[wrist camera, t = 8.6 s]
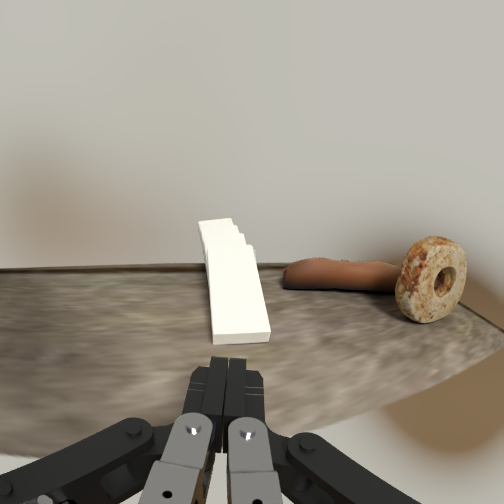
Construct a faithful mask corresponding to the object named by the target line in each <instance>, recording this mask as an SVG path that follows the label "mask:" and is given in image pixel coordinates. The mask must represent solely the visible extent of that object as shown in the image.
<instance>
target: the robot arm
mask: <svg viewBox="0 0 504 504" xmlns="http://www.w3.org/2000/svg"><path fill="white" fill-rule="evenodd" d="M222 438H223V453H227V498H228V504H283V502H282V495H281V492H282V493H283V494H284V495H285V496H286V497H287V498H288V499H289V500H291V501H292V502H293V503H294V504H421V503H419V502H418V501H416V500H414V499H412V498H411V497H409V496H407V495H406V494H404V493H403V492H401V491H399V490H398V489H396V488H394V487H393V486H391V485H390V484H388V483H386V482H385V481H383V480H382V479H380V478H379V477H377V476H376V475H374V474H373V473H371V472H370V471H368V470H367V469H365V468H364V467H362V466H361V465H359V464H358V463H356V462H355V461H354V460H352V459H351V458H349V457H348V456H346V455H345V454H343V453H342V452H341V451H339V450H337V448H335V447H334V446H332V445H331V444H330V443H328V442H327V441H326V440H324V439H323V438H322V437H320V436H318V435H316V434H313V433H308V432H304V433H299V434H296V435H294V436H293V437H291V438H288V437H284V436H281V435H278V434H276V433H274V432H272V431H271V430H270V429H269V428H268V427H267V425H266V423H265V412H264V389H263V378H262V376H261V375H260V373H259V372H258V371H252V370H246V359H242V358H230V360H229V369H228V358H227V357H215V356H212V357H211V362H210V367H200V366H199V367H198V368H197V369H196V370H195V371H194V372H193V373H192V375H191V379H190V383H189V387H188V391H187V395H186V399H185V403H184V407H183V412H182V415H181V416H179V417H178V418H177V419H176V420H175V422H174V423H173V424H170V425H167V426H159V427H151V425H150V424H149V423H148V422H147V421H145V420H143V419H141V418H127V419H124V420H122V421H120V422H118V423H116V424H114V425H112V426H110V427H108V428H106V429H104V430H102V431H100V432H98V433H96V434H94V435H92V436H90V437H88V438H86V439H83V440H81V441H79V442H77V443H75V444H73V445H71V446H68V447H66V448H64V449H62V450H60V451H57V452H55V453H53V454H51V455H48V456H46V457H44V458H41V459H39V460H37V461H34V462H32V463H29V464H27V465H25V466H22V467H20V468H17V469H15V470H12V471H10V472H7V473H5V474H2V475H0V504H119V503H121V502H123V501H125V500H126V499H128V498H130V497H131V496H133V495H135V494H136V493H138V492H140V491H141V490H143V492H142V495H141V497H140V500H139V503H138V504H205V503H206V498H207V494H208V489H209V484H210V480H211V474H212V471H213V464H214V461H215V453H221V448H222Z"/></svg>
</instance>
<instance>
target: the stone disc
mask: <svg viewBox="0 0 504 504" xmlns="http://www.w3.org/2000/svg"><path fill="white" fill-rule="evenodd" d="M466 262H467V261H466V260H465V252H464V250H463V249H462V248H461V247H460V246H459V245H458V244H457V243H455V242H453V241H451V240H449V239H446V238H443V237H438V236H430V237H427V238H424V239H422V240H420V241H418V242H416V243H415V244H414V245H413V246H412V247H411V248H410V250H409V252H408V253H407V255H406V257H405V259H404V262H403V264H402V267H401V269H400V276H399V277H398V281H397V284H396V288H395V297H396V301H397V305H398V307H399V309H400V311H401V312H402V313H403V314H404V315H405V316H407V317H408V318H410V319H411V320H413V321H416V322H419V323H430V322H434V321H437V320H439V319H441V318H443V317H445V316H447V315H448V314H449V313H450V312H451V311H452V310H453V309H454V308H455V306H456V304H457V302H458V301H459V299H460V297H461V295H462V292H463V289H464V285H465V279H466V271H467V270H466V269H467V266H466Z"/></svg>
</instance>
